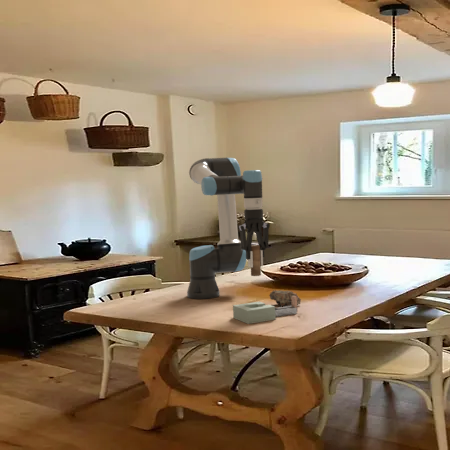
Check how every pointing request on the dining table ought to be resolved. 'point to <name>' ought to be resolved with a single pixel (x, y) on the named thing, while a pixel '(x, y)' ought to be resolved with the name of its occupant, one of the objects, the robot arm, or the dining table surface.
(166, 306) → the dining table surface
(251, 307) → the block
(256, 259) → the peg
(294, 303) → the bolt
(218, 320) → the dining table surface
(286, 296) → the rock
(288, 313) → the block
